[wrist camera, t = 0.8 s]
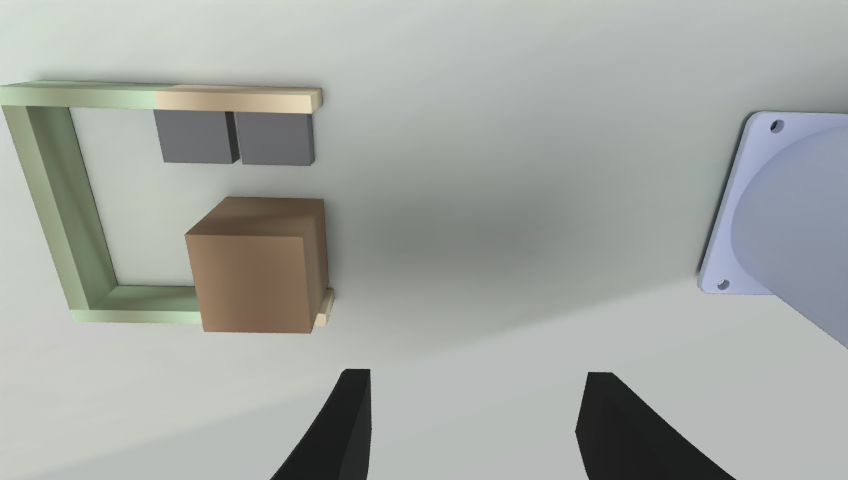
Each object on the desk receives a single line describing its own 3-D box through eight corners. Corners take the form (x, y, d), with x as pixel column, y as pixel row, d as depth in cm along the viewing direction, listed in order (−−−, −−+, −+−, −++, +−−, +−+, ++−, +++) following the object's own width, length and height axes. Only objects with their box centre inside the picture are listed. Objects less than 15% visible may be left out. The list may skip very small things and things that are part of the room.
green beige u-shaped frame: (321, 88, 18) (310, 95, 16) (333, 300, 22) (326, 325, 20) (38, 80, 17) (-6, 86, 16) (103, 296, 21) (73, 321, 20)
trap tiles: (310, 109, 18) (306, 113, 17) (314, 160, 19) (310, 165, 18) (163, 105, 18) (153, 109, 17) (173, 157, 19) (164, 162, 18)
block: (323, 198, 20) (302, 237, 16) (328, 281, 21) (310, 333, 18) (227, 196, 20) (184, 234, 16) (240, 279, 21) (204, 331, 18)
